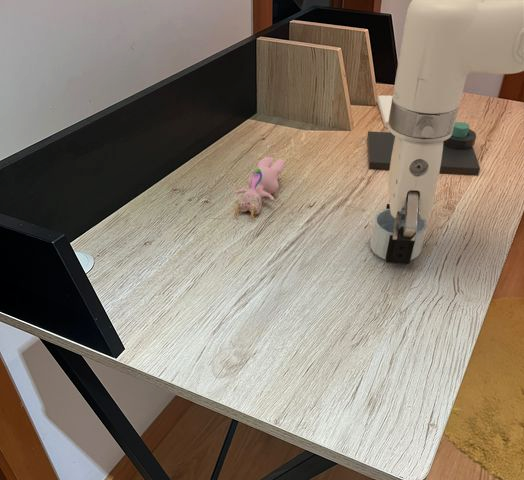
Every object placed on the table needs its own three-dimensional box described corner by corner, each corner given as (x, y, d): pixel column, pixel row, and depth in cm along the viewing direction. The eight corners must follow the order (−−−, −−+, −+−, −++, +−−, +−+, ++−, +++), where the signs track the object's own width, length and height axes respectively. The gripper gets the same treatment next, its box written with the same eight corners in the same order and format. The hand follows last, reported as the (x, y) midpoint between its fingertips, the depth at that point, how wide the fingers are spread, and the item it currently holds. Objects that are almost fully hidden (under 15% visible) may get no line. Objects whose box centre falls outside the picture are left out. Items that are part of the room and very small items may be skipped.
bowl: (417, 237, 81) (424, 209, 78) (422, 266, 76) (429, 237, 73) (369, 234, 82) (373, 206, 79) (370, 262, 77) (375, 234, 74)
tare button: (465, 132, 100) (468, 122, 99) (468, 139, 98) (470, 129, 97) (449, 131, 100) (452, 121, 99) (451, 138, 99) (454, 128, 97)
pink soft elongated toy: (264, 231, 84) (295, 171, 93) (262, 198, 80) (295, 138, 88) (225, 222, 86) (259, 164, 94) (221, 190, 81) (257, 132, 89)
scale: (468, 143, 103) (473, 127, 101) (480, 176, 94) (485, 159, 92) (366, 137, 104) (369, 121, 102) (368, 169, 96) (371, 152, 93)
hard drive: (417, 104, 116) (428, 130, 107) (376, 103, 116) (384, 129, 107) (418, 96, 115) (430, 121, 106) (377, 95, 115) (385, 120, 106)
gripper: (466, 153, 60) (429, 286, 72) (445, 90, 72) (417, 214, 85) (393, 149, 60) (369, 282, 73) (386, 87, 73) (366, 211, 85)
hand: (395, 244), depth 79 cm, fingers closed on bowl, 7 cm apart
